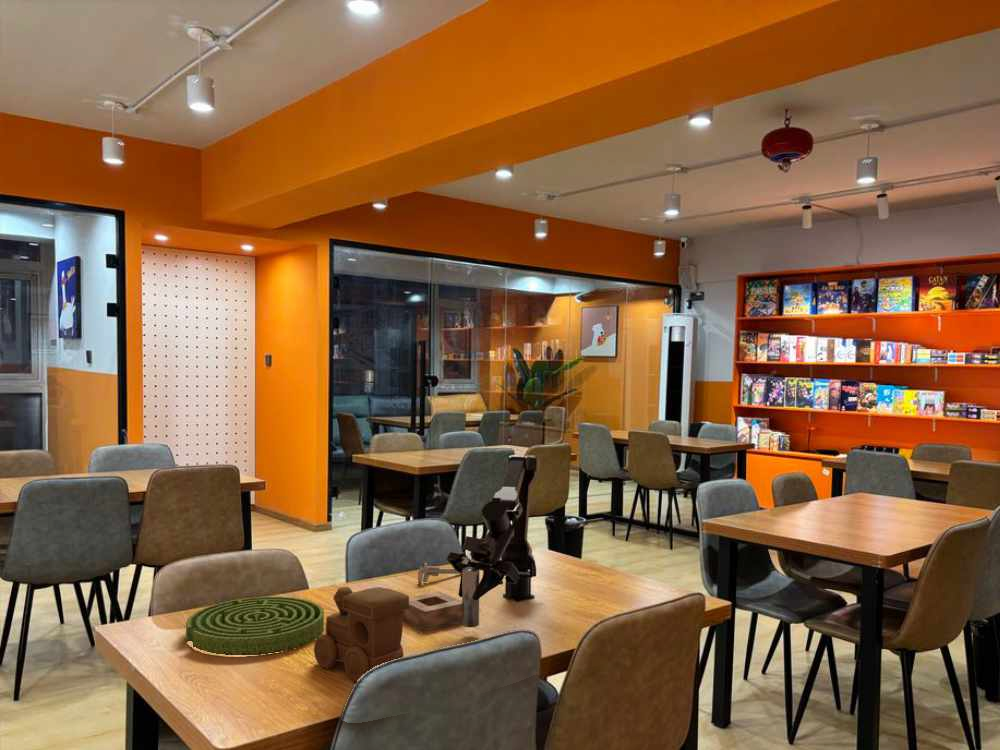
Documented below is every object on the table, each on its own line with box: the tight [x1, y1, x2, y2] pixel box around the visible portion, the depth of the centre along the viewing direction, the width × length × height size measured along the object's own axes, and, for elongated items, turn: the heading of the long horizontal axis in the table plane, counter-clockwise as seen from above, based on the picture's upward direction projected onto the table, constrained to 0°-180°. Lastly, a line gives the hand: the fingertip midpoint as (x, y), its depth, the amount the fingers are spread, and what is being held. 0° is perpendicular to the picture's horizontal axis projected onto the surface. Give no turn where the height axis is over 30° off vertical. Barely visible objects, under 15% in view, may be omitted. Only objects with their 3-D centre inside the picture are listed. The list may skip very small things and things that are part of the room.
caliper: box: [417, 562, 461, 585], centre depth 234 cm, size 20×1×6 cm, turn 134°
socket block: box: [403, 591, 462, 633], centre depth 196 cm, size 14×14×4 cm
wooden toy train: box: [313, 586, 410, 682], centre depth 163 cm, size 20×11×17 cm, turn 49°
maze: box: [185, 596, 325, 655], centre depth 184 cm, size 31×31×5 cm
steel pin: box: [461, 567, 480, 628], centre depth 184 cm, size 4×4×13 cm
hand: (466, 597), depth 183 cm, fingers closed on steel pin, 4 cm apart
